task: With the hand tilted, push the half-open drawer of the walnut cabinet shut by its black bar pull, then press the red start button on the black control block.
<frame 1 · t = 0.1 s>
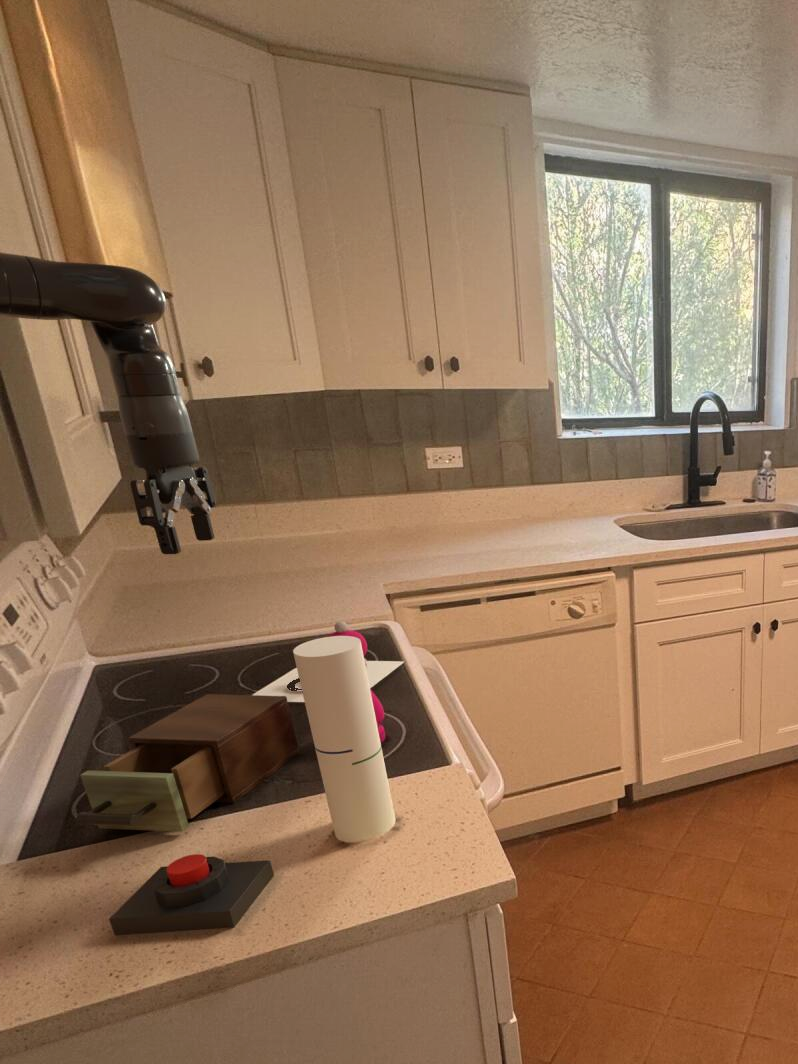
hand: (189, 546, 112), 32 cm above the countertop, tool pointing down, fingers open, 8 cm apart
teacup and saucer: (328, 680, 148), on the countertop
pepper mill: (364, 742, 124), on the countertop
drawer: (160, 784, 102), point 5 cm above the countertop, slide at 7.0 cm
cabinet: (227, 775, 114), on the countertop
control block: (198, 904, 87), on the countertop
cylindrical container: (365, 827, 101), on the countertop
start button: (188, 870, 85), point 4 cm above the countertop, slide at 0.1 cm
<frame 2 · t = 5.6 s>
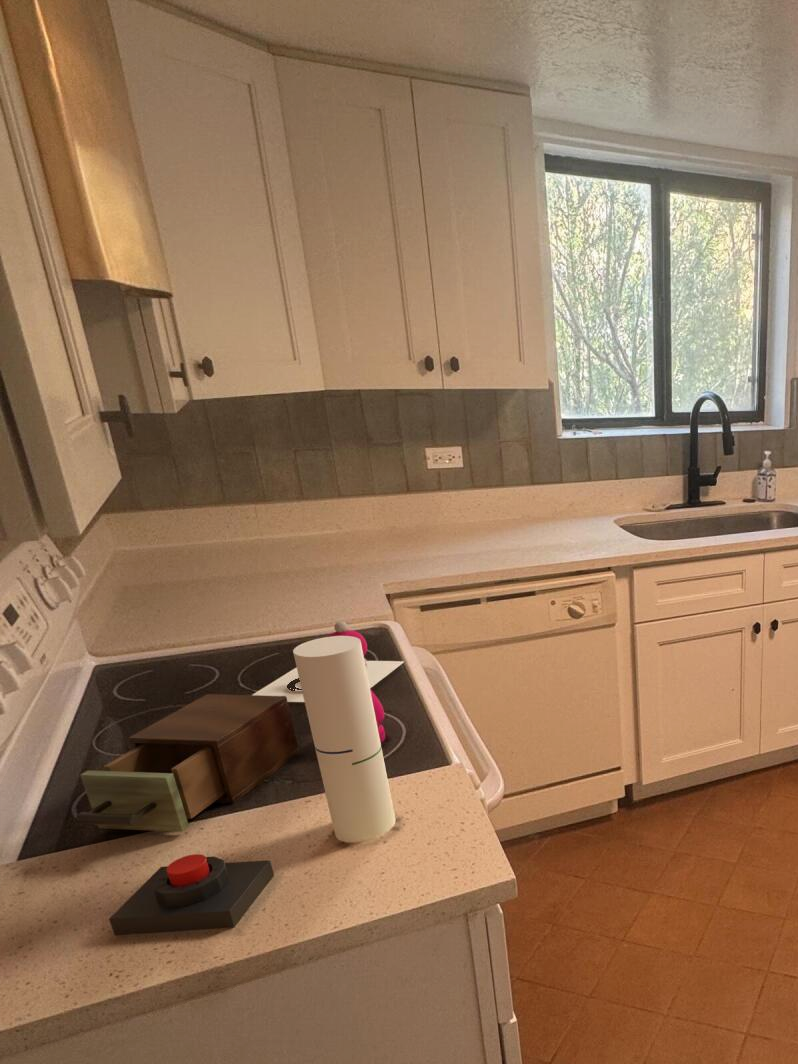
nothing on the countertop moved.
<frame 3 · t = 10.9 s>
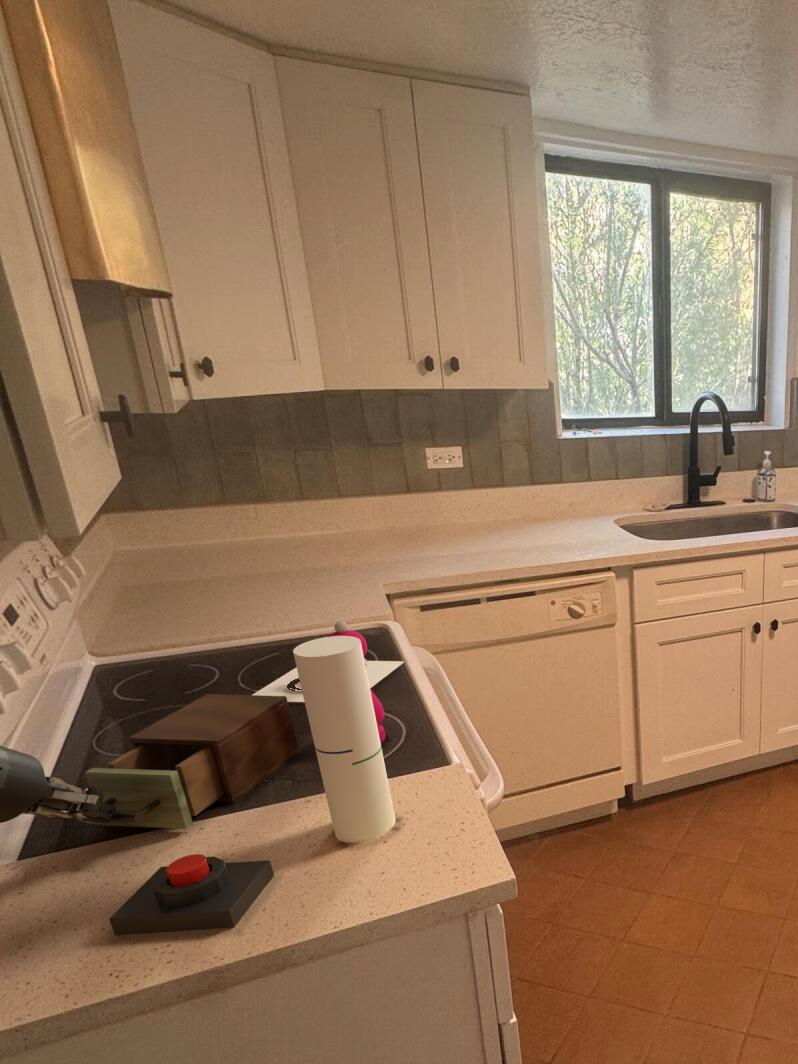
hand: (107, 814, 94), 5 cm above the countertop, tool tilted 45°, fingers closed
drawer: (164, 782, 103), point 5 cm above the countertop, slide at 6.3 cm, touching gripper
everything else where it was.
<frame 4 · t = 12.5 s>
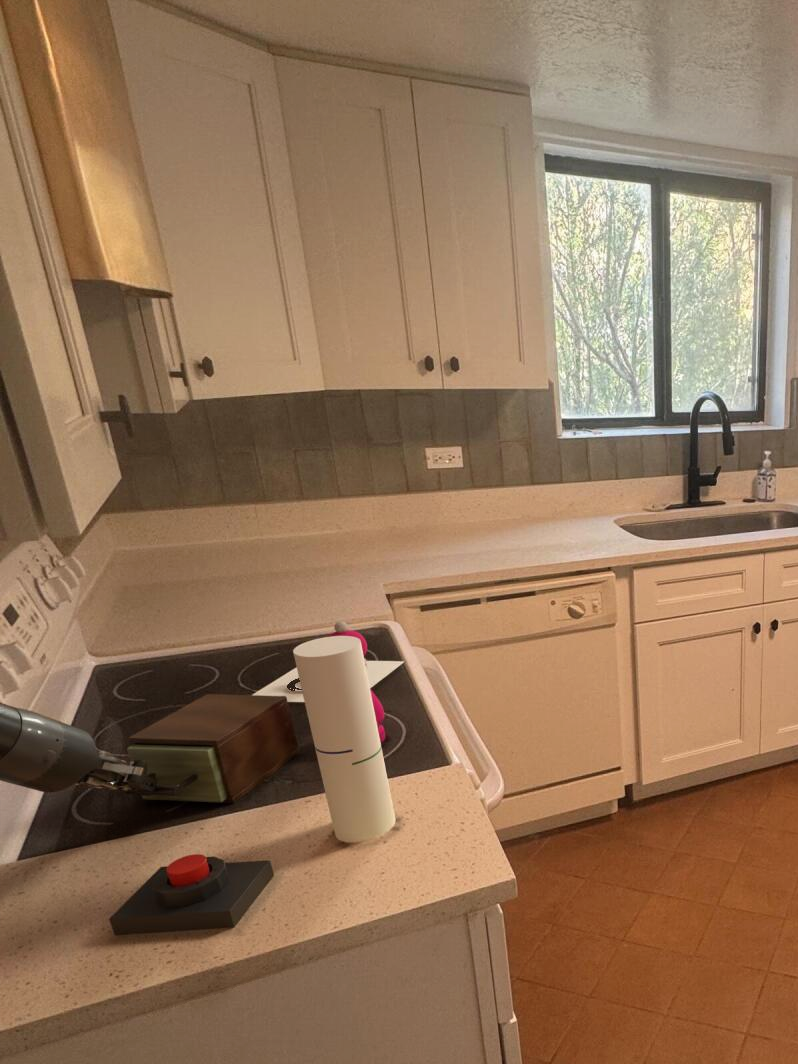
hand: (149, 787, 100), 5 cm above the countertop, tool tilted 45°, fingers closed
drawer: (200, 758, 109), point 5 cm above the countertop, slide at 0.0 cm, touching cabinet, gripper
everything else where it was.
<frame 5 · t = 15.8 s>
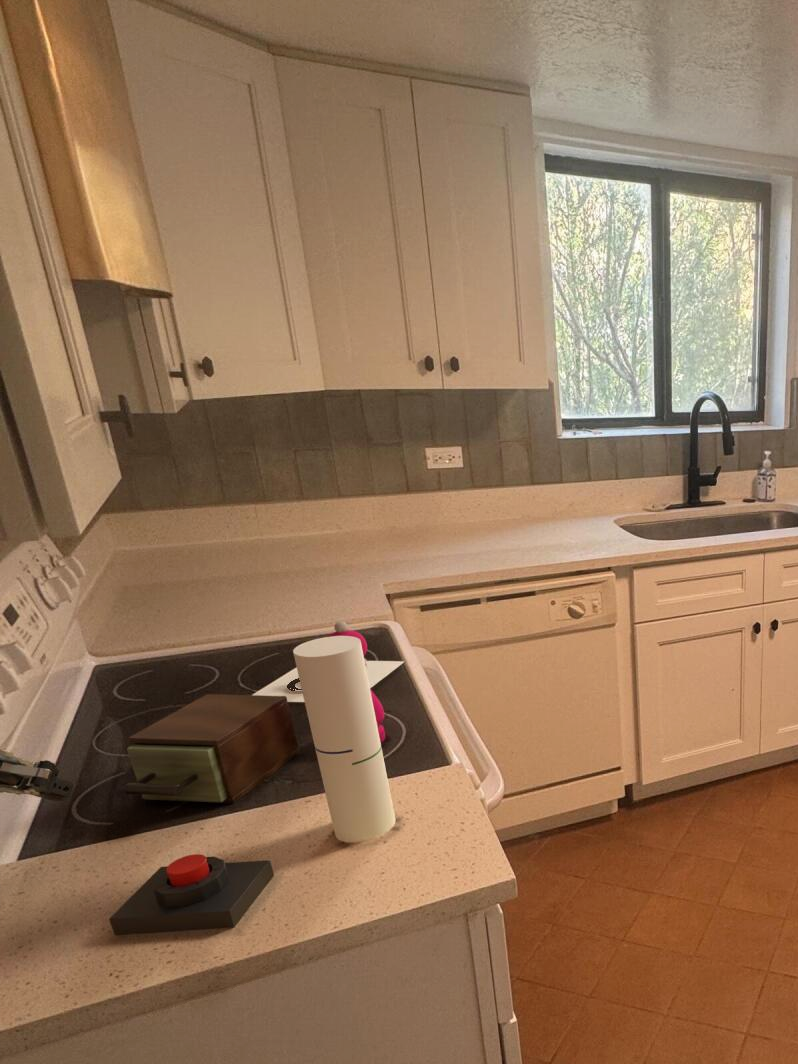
hand: (64, 792, 89), 11 cm above the countertop, tool tilted 45°, fingers closed
drawer: (200, 758, 109), point 5 cm above the countertop, slide at 0.0 cm, touching cabinet
everything else where it was.
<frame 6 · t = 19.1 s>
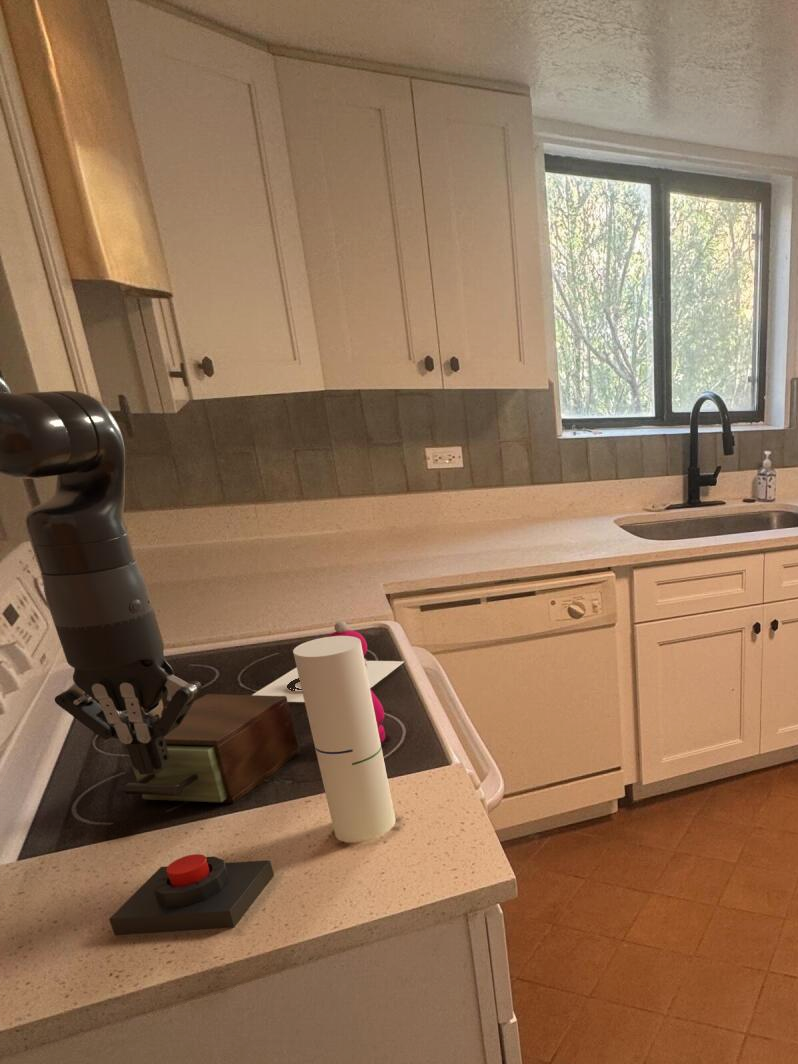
hand: (154, 770, 81), 17 cm above the countertop, tool pointing down, fingers closed
nothing on the countertop moved.
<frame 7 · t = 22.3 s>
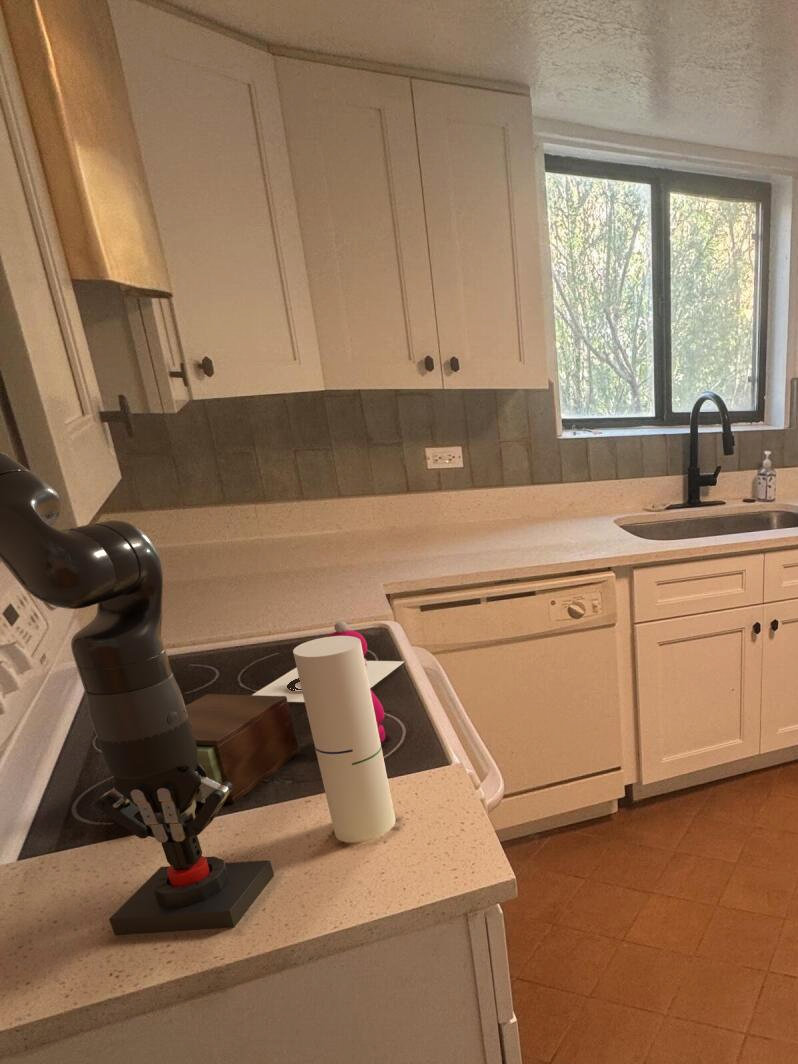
hand: (187, 865, 85), 5 cm above the countertop, tool pointing down, fingers closed
start button: (188, 871, 85), point 4 cm above the countertop, slide at -0.1 cm, touching gripper
everything else where it was.
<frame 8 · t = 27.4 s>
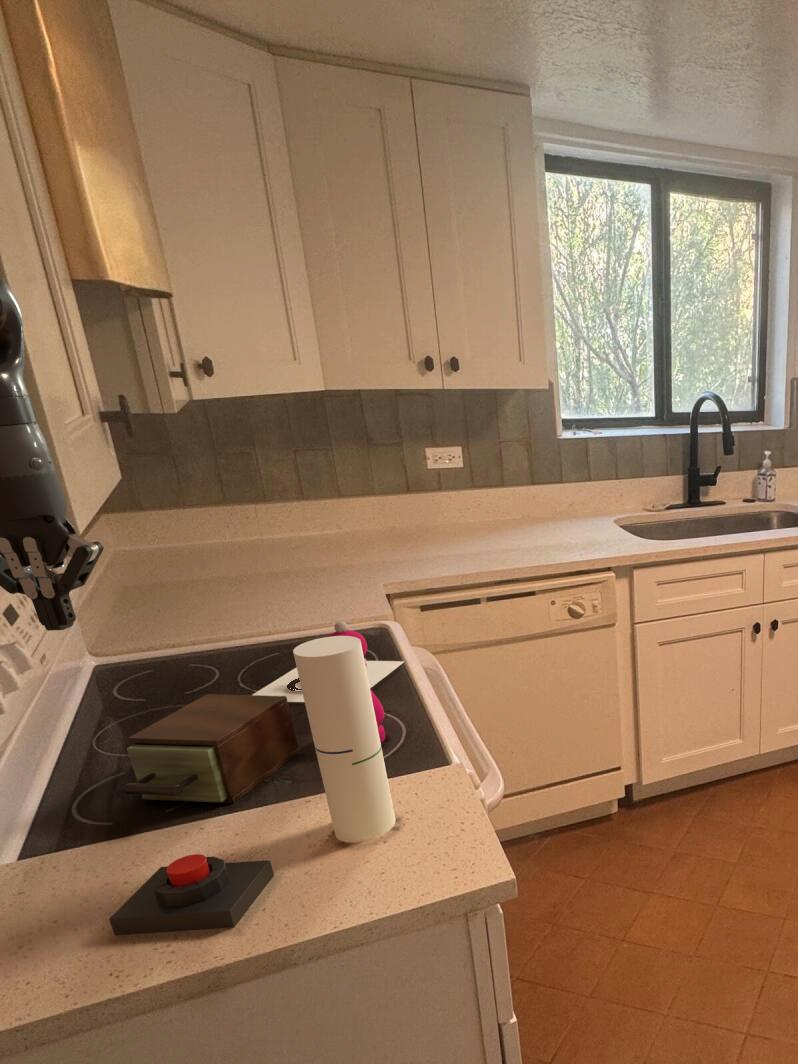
hand: (60, 628, 87), 29 cm above the countertop, tool pointing down, fingers closed
start button: (188, 870, 85), point 4 cm above the countertop, slide at 0.1 cm
everything else where it was.
at the end: drawer slide at 0.0 cm; start button pushed in 1.0 cm at the most during the clip, back to where it started at the end; start button slide at 0.1 cm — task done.
